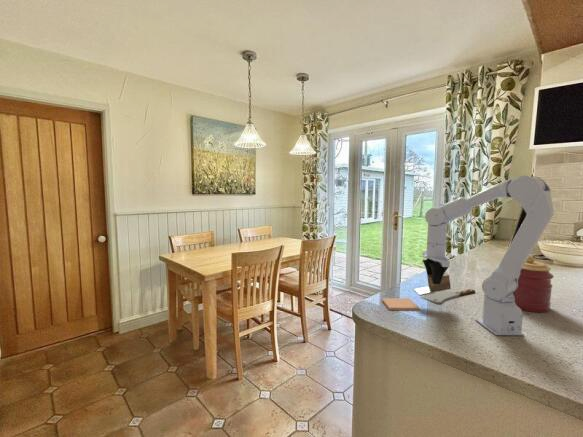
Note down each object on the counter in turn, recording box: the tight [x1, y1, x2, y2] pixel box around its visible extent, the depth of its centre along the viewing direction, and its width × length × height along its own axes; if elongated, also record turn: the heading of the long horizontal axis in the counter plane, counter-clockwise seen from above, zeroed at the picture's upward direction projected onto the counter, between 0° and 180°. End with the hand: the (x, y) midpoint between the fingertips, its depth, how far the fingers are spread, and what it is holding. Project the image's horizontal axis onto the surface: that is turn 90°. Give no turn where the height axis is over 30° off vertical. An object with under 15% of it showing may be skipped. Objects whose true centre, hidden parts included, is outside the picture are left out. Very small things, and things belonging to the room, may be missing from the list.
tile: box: [381, 297, 420, 311], centre depth 100 cm, size 8×1×10 cm
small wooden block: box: [413, 272, 452, 297], centre depth 99 cm, size 5×11×5 cm, turn 90°
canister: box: [512, 255, 554, 313], centre depth 100 cm, size 13×13×18 cm
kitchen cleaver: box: [420, 288, 476, 305], centre depth 110 cm, size 24×1×10 cm
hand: (434, 282), depth 99 cm, fingers closed on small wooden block, 3 cm apart
